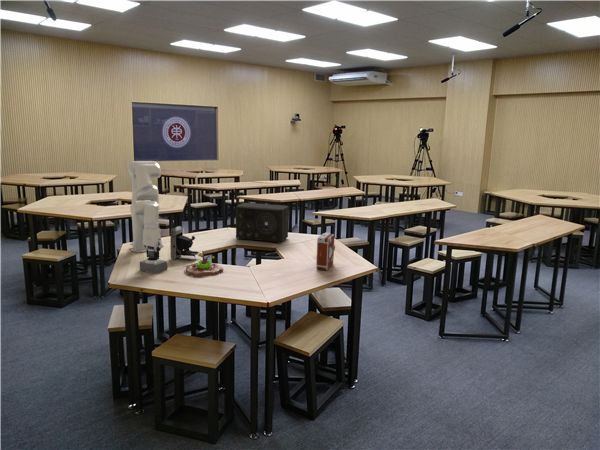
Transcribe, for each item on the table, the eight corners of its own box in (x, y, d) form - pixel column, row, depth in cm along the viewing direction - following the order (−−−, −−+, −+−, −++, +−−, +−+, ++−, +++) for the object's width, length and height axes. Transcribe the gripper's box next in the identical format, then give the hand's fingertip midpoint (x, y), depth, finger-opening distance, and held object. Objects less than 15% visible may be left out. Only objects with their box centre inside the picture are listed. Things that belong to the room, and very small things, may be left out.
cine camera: (337, 262, 277) (338, 231, 273) (329, 271, 259) (330, 238, 255) (323, 261, 280) (324, 230, 276) (313, 269, 262) (315, 236, 258)
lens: (146, 261, 250) (145, 247, 249) (153, 259, 255) (152, 245, 253) (153, 262, 248) (152, 248, 247) (160, 260, 253) (159, 246, 251)
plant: (180, 269, 255) (179, 251, 253) (211, 264, 267) (211, 246, 265) (194, 279, 240) (194, 259, 237) (227, 273, 251) (227, 254, 249)
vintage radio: (231, 239, 326) (231, 206, 321) (241, 234, 344) (242, 202, 339) (280, 244, 317) (281, 210, 311) (288, 238, 335) (289, 205, 330)
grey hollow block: (139, 270, 251) (139, 259, 250) (151, 266, 259) (151, 255, 258) (155, 273, 246) (155, 262, 245) (167, 269, 254) (166, 258, 253)
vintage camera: (193, 262, 270) (194, 230, 266) (169, 259, 273) (170, 227, 269) (199, 258, 279) (200, 227, 275) (177, 255, 282) (177, 224, 278)
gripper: (135, 225, 248) (136, 256, 252) (158, 229, 240) (159, 261, 244) (145, 222, 254) (146, 253, 258) (168, 226, 247) (169, 258, 251)
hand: (153, 257), depth 251 cm, fingers closed on lens, 5 cm apart
